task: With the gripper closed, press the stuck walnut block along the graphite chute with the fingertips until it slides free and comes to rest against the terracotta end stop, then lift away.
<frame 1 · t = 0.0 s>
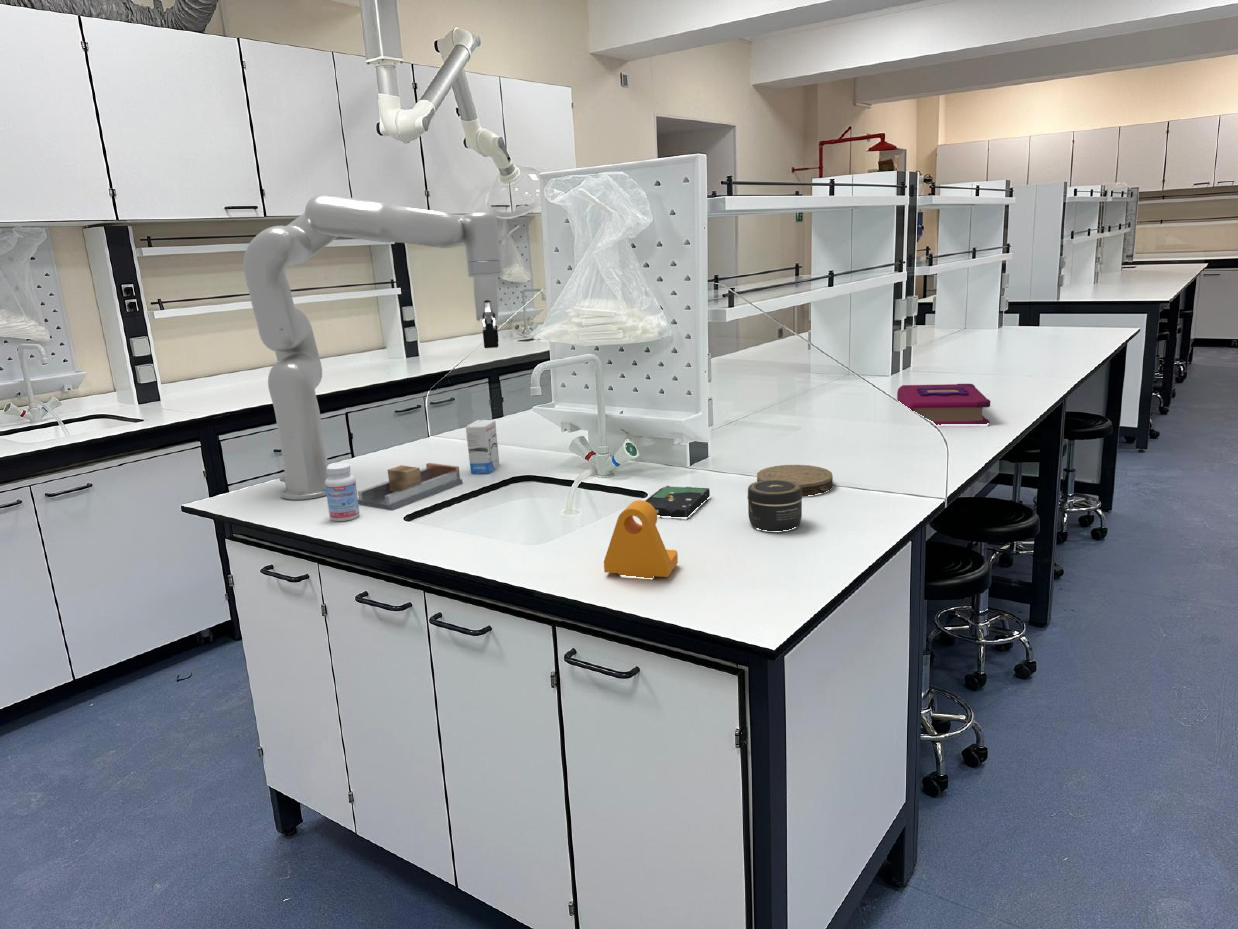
hand: (491, 345, 199), 31 cm above the table, tool pointing down, fingers open, 9 cm apart
jar: (775, 526, 162), on the table
bracket: (642, 572, 144), on the table
ink box: (485, 470, 214), on the table
book: (940, 418, 244), on the table
chute: (411, 493, 197), on the table
pill bottle: (345, 518, 182), on the table
disk drive: (675, 510, 176), on the table
cork trivet: (794, 488, 186), on the table
block: (404, 479, 194), point 4 cm above the table, slide at 0.0 cm
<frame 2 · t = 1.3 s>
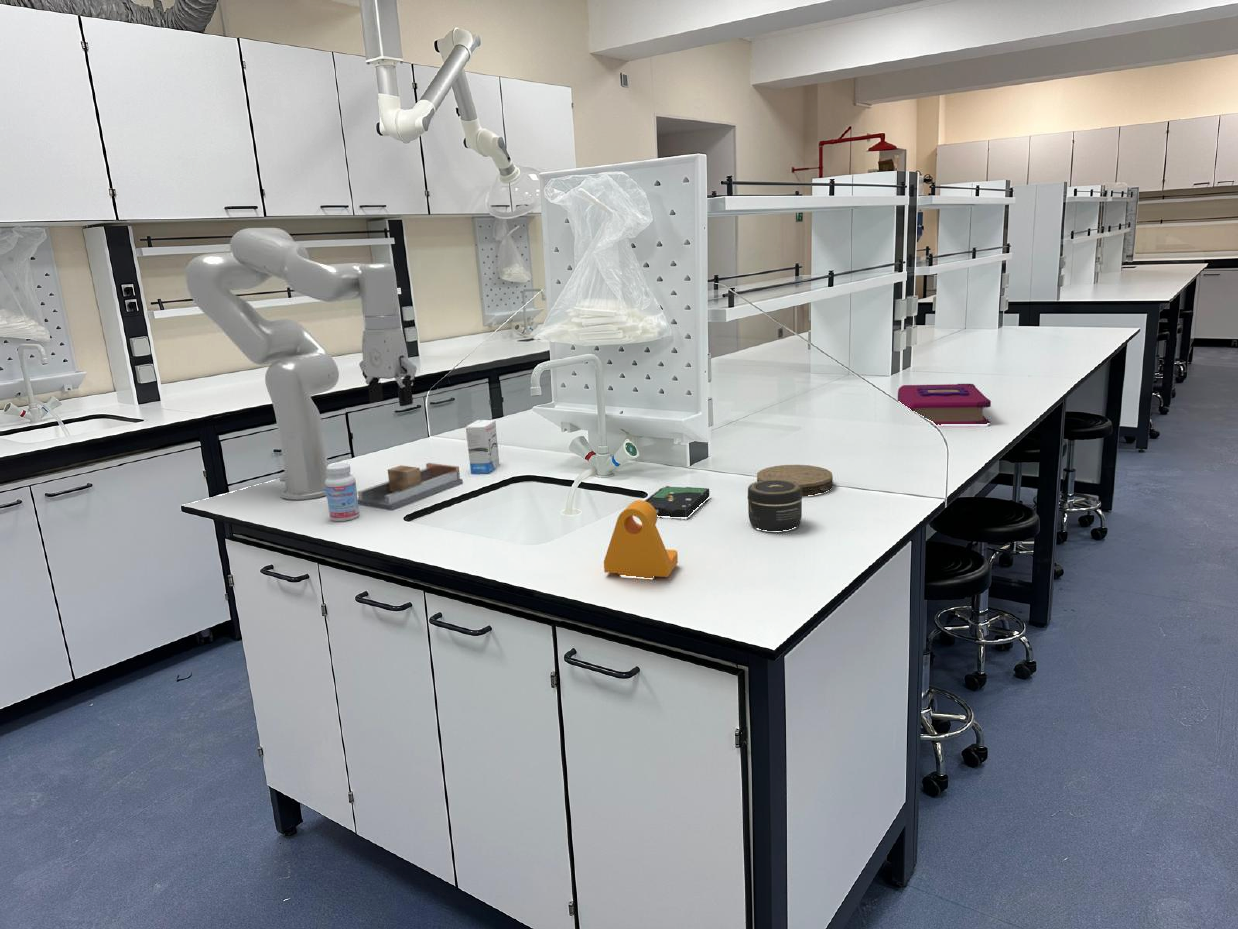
hand: (391, 403, 187), 22 cm above the table, tool pointing down, fingers open, 9 cm apart
nothing on the table moved.
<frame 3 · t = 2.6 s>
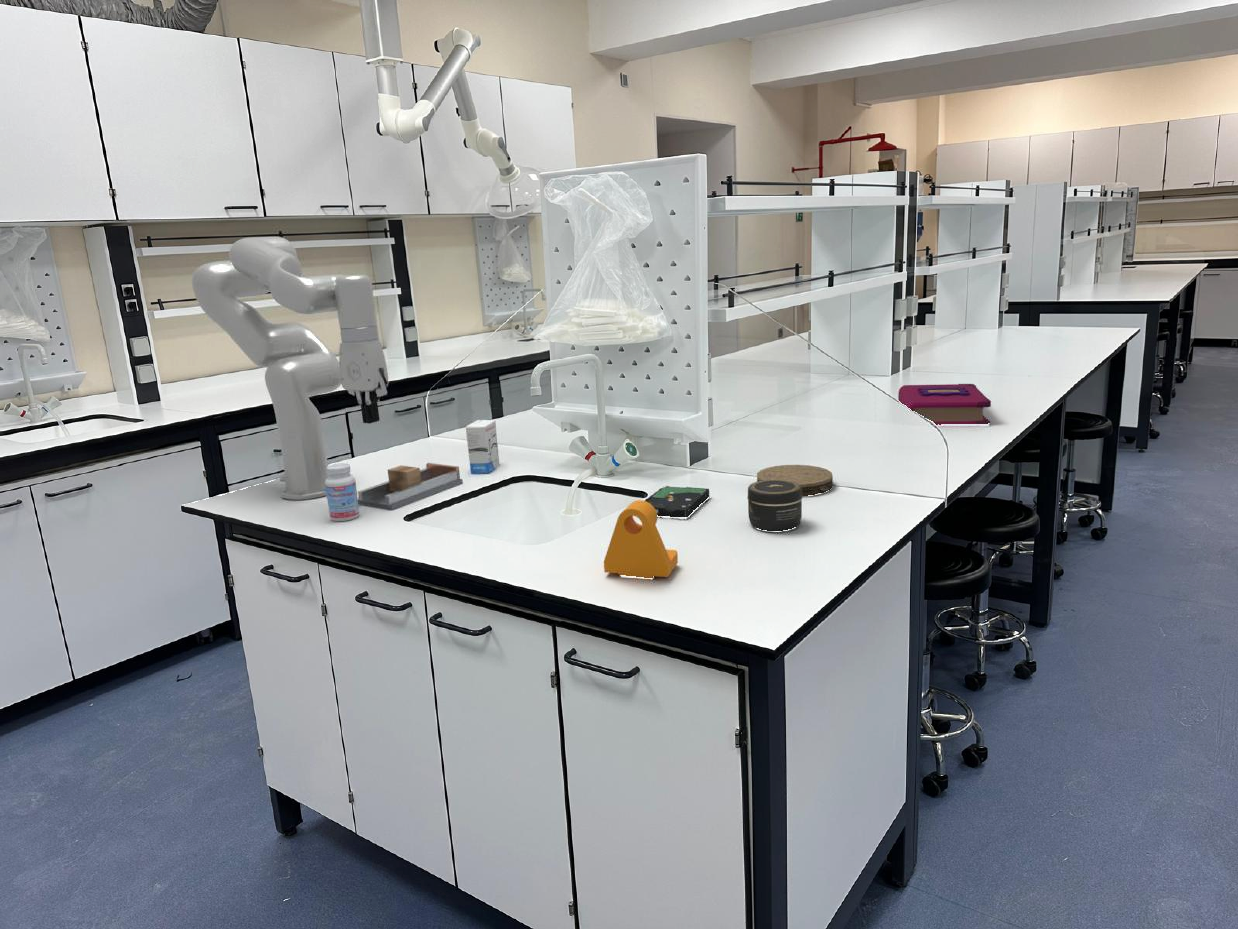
hand: (371, 421, 184), 19 cm above the table, tool pointing down, fingers closed
nothing on the table moved.
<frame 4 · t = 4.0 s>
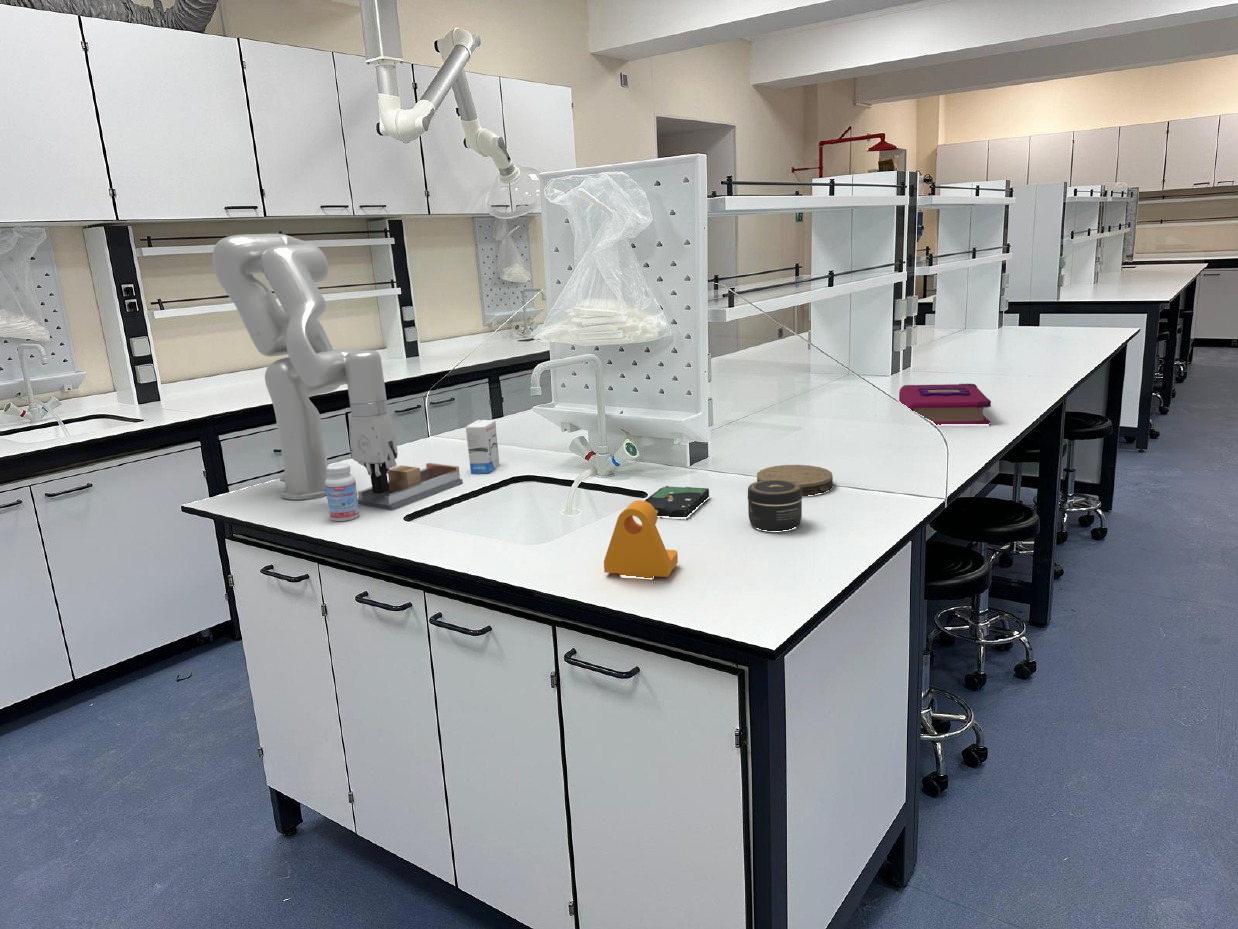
hand: (381, 491, 188), 3 cm above the table, tool pointing down, fingers closed
nothing on the table moved.
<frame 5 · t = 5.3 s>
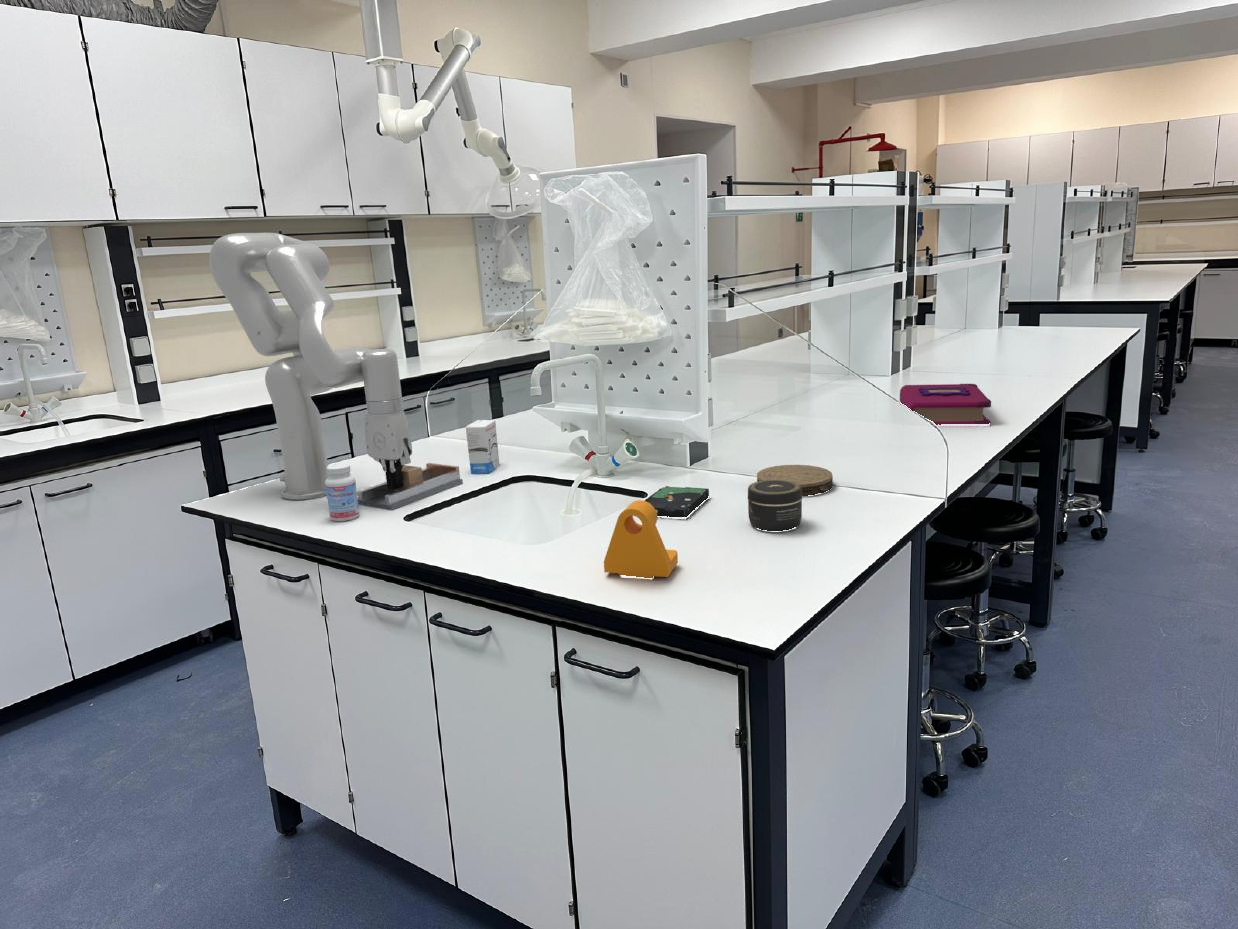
hand: (395, 487, 192), 3 cm above the table, tool pointing down, fingers closed
block: (406, 478, 195), point 4 cm above the table, slide at 0.5 cm, touching gripper
everything else where it was.
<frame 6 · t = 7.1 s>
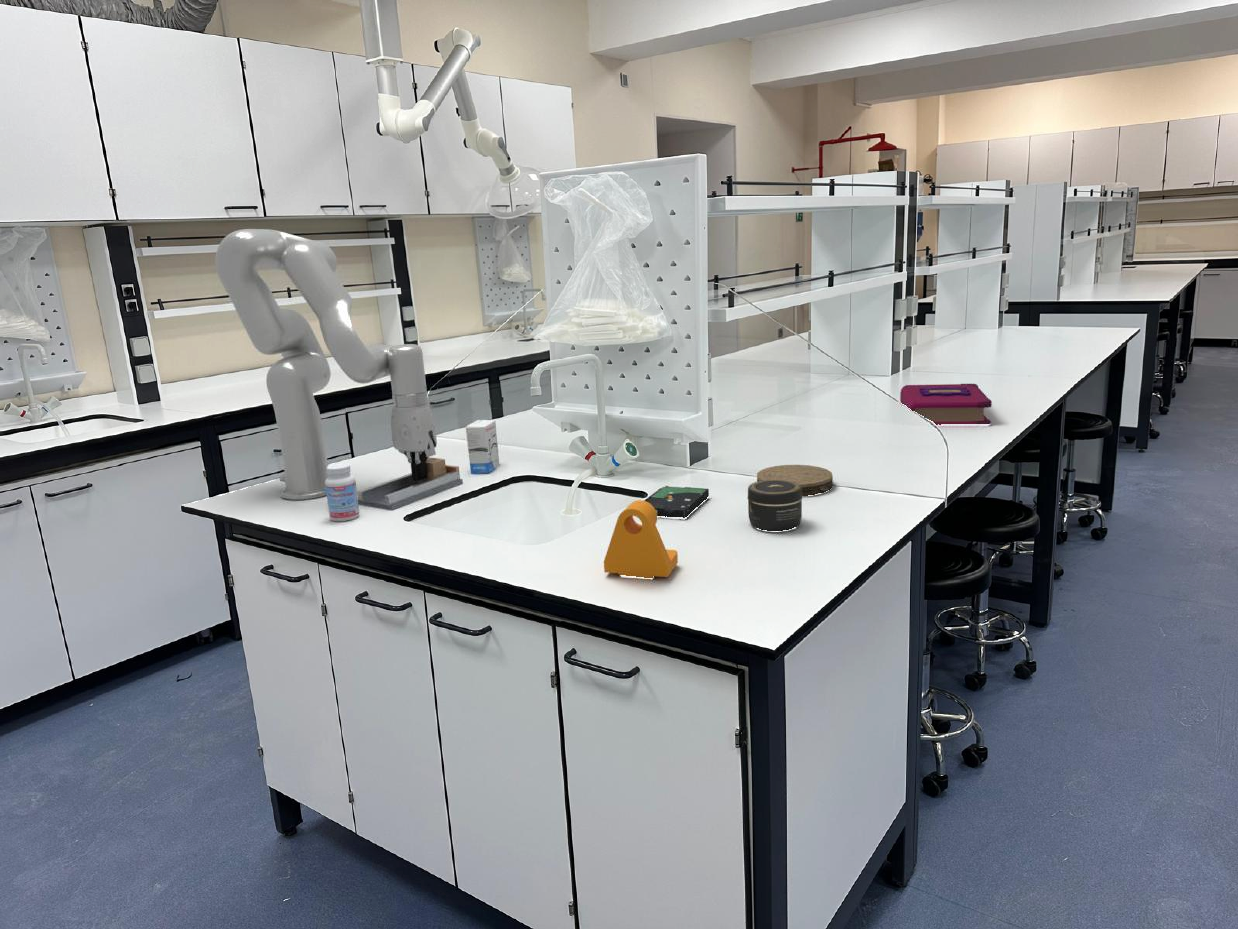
hand: (420, 479, 198), 3 cm above the table, tool pointing down, fingers closed
block: (430, 470, 201), point 4 cm above the table, slide at 8.1 cm, touching gripper
everything else where it was.
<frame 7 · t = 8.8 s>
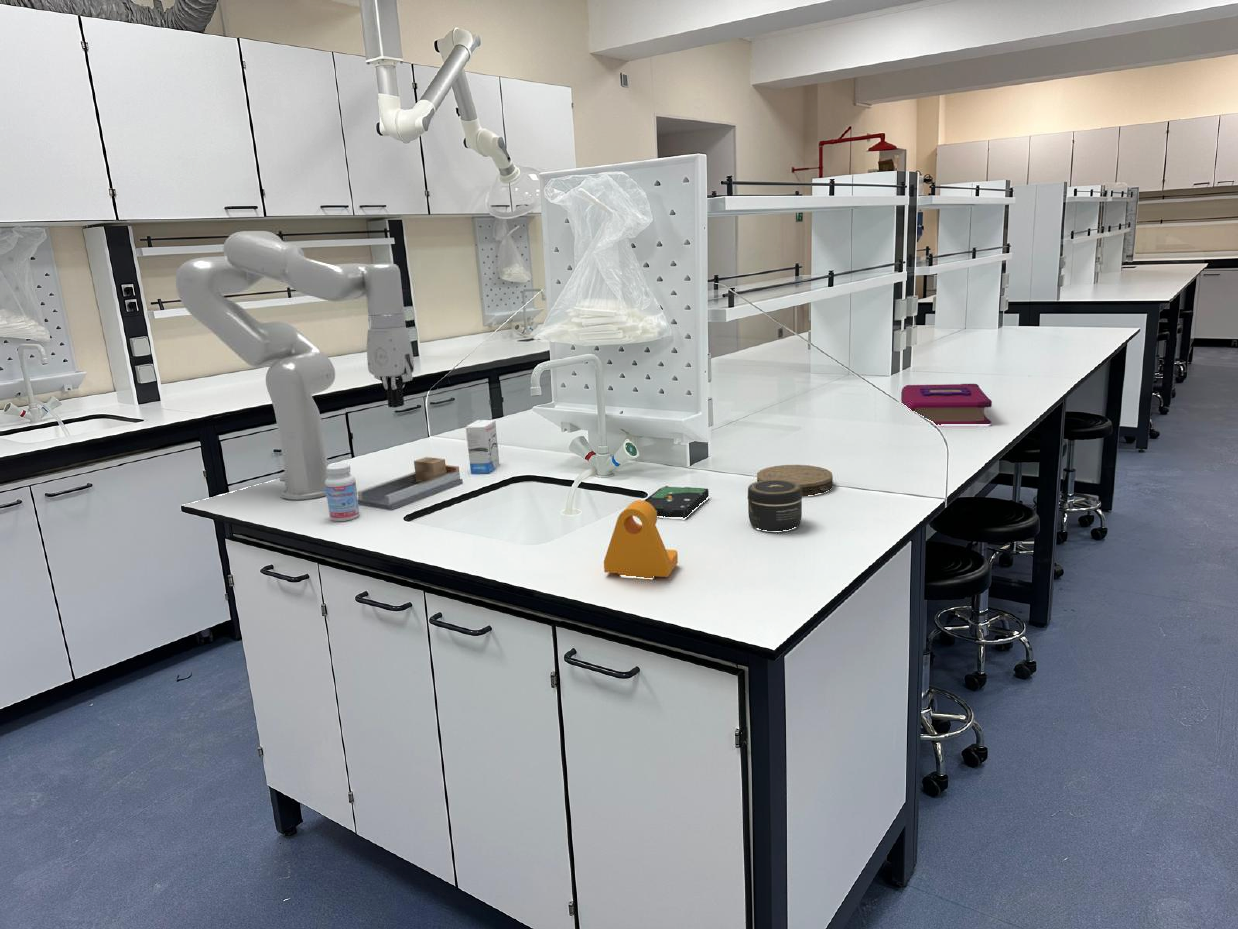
hand: (396, 406, 191), 20 cm above the table, tool pointing down, fingers closed
block: (430, 470, 201), point 4 cm above the table, slide at 8.1 cm
everything else where it was.
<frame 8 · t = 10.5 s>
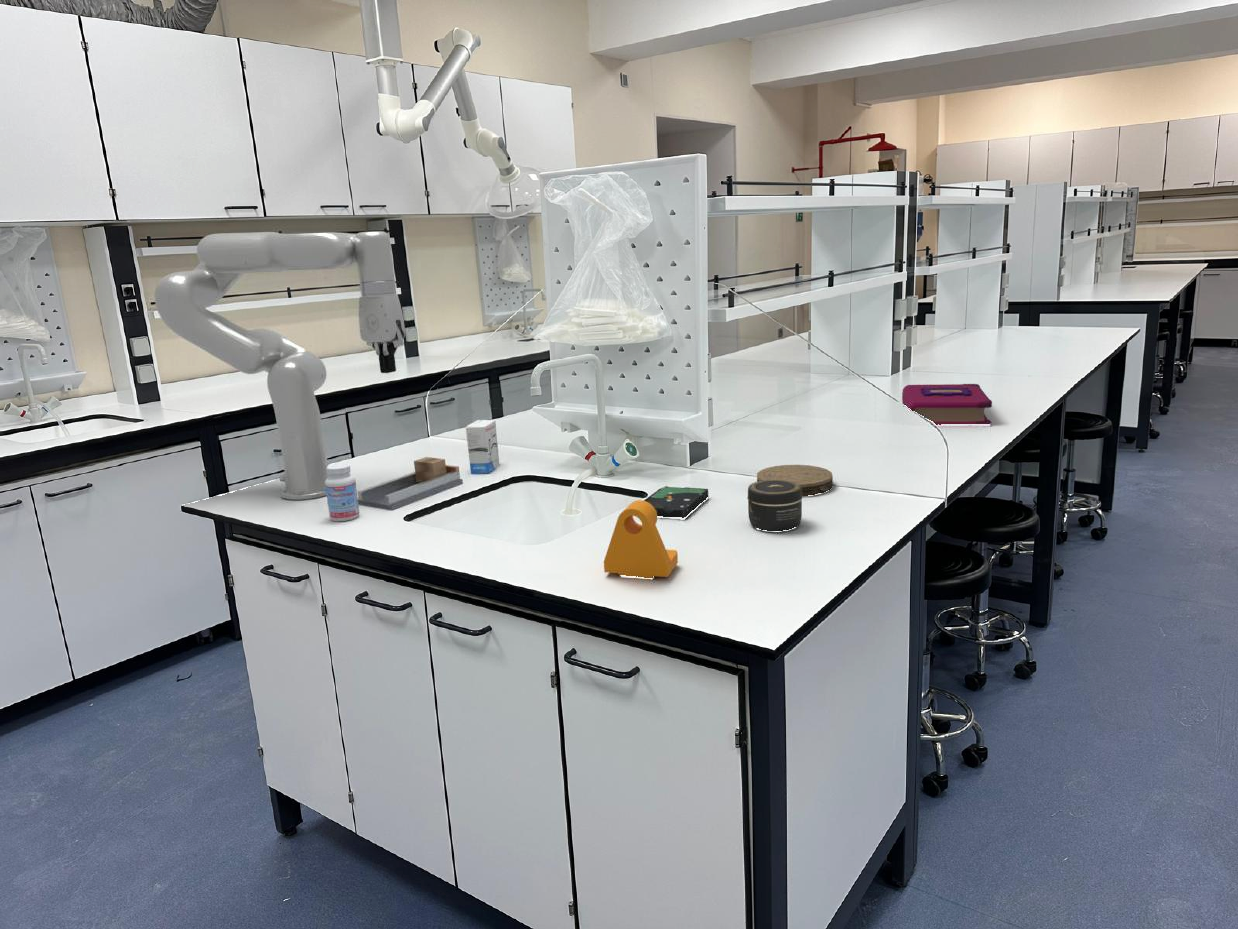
hand: (388, 372, 195), 27 cm above the table, tool pointing down, fingers closed
nothing on the table moved.
at the end: block slide at 8.1 cm; pill bottle moved 0.2 cm from its start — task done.
